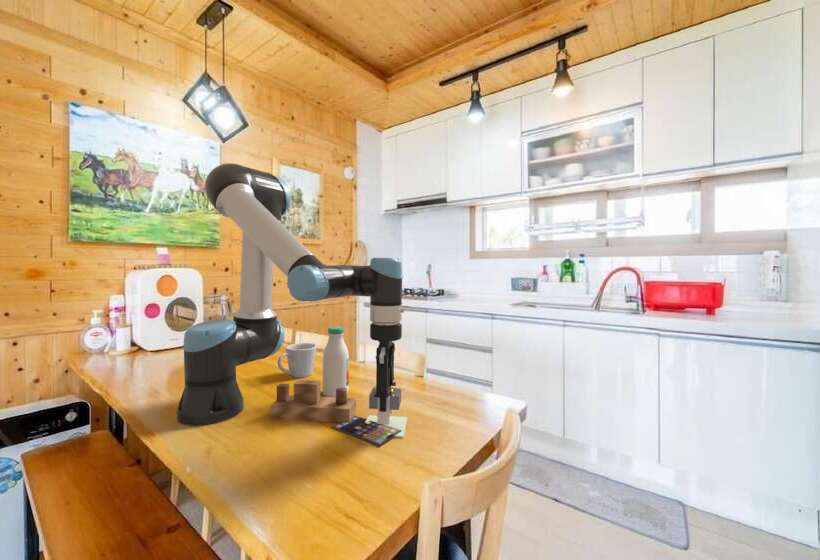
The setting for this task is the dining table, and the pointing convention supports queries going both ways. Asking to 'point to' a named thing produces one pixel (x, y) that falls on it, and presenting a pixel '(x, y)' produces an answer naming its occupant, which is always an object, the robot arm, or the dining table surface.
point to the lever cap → (394, 398)
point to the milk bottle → (335, 363)
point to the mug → (299, 359)
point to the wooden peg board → (312, 404)
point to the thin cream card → (393, 423)
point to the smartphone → (367, 431)
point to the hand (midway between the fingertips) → (385, 417)
